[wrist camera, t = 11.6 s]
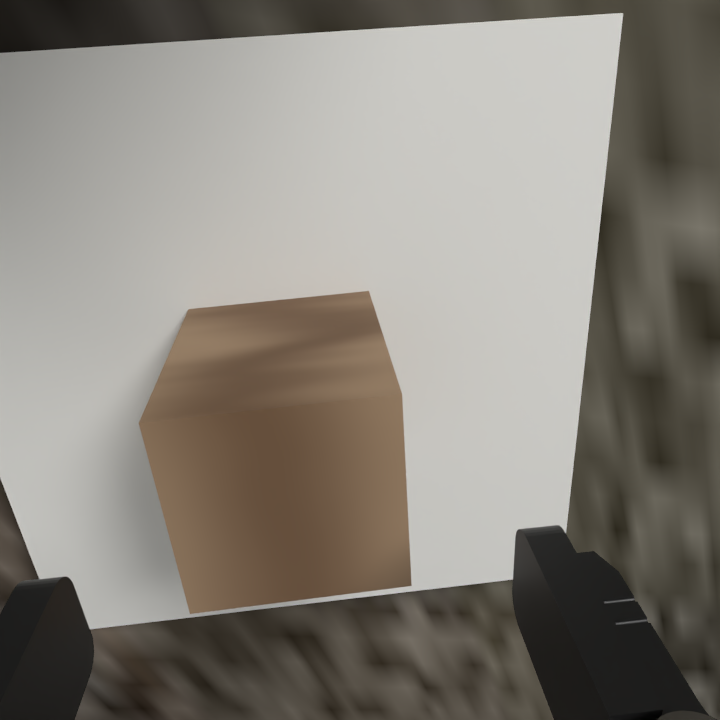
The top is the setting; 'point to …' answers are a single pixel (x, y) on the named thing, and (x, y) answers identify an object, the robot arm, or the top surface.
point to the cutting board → (301, 267)
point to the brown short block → (281, 453)
